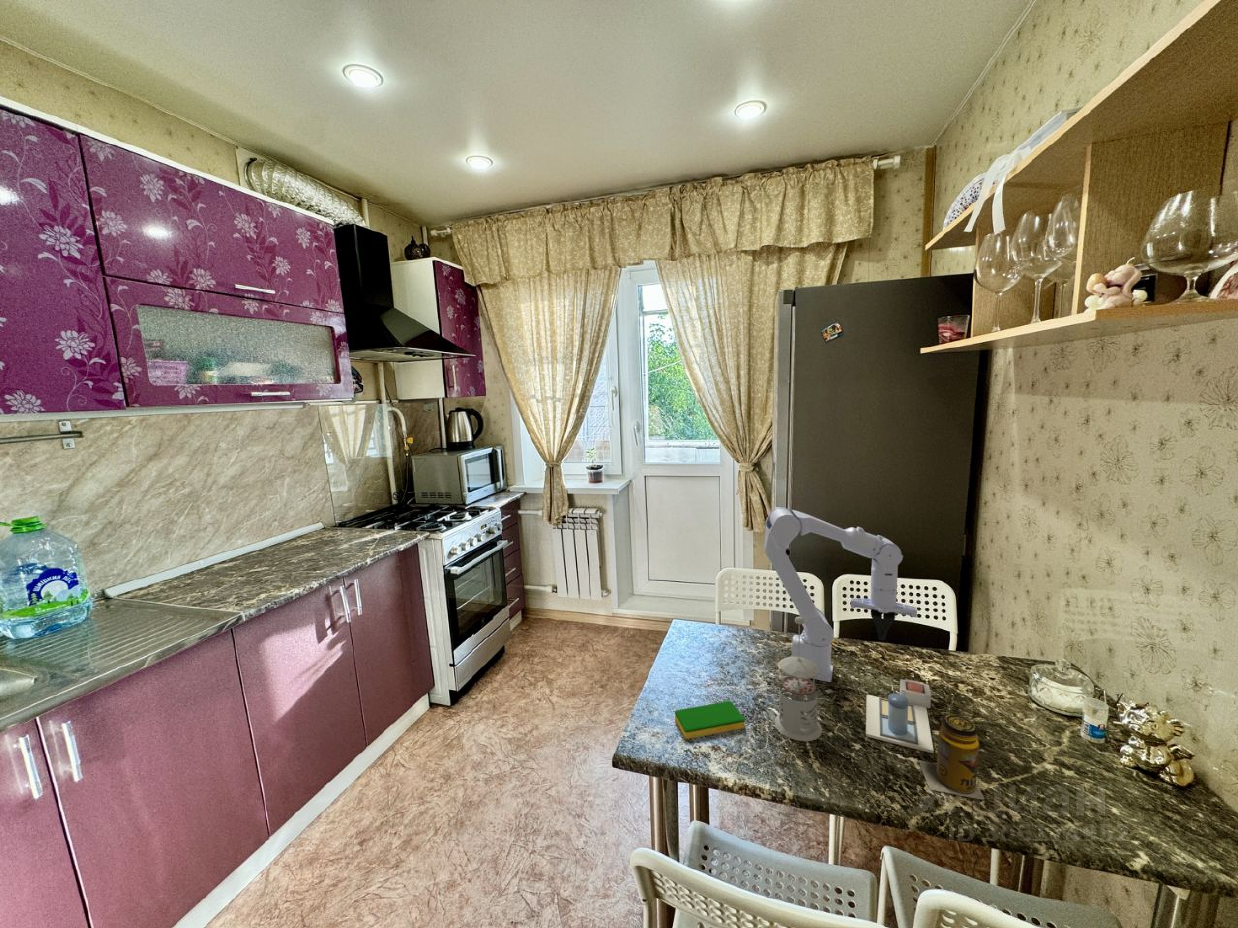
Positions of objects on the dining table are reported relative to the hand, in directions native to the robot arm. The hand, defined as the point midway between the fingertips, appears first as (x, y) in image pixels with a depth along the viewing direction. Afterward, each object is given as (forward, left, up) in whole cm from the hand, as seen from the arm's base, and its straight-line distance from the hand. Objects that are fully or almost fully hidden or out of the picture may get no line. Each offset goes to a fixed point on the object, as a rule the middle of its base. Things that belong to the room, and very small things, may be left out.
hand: (881, 638), depth 123 cm
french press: (-16, -28, -10) cm, 34 cm away
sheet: (+3, -19, -10) cm, 22 cm away
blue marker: (+3, -23, -9) cm, 24 cm away
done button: (+7, -8, -10) cm, 15 cm away
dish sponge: (-34, -36, -11) cm, 51 cm away
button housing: (+7, -8, -10) cm, 15 cm away
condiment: (+11, -33, -10) cm, 36 cm away
